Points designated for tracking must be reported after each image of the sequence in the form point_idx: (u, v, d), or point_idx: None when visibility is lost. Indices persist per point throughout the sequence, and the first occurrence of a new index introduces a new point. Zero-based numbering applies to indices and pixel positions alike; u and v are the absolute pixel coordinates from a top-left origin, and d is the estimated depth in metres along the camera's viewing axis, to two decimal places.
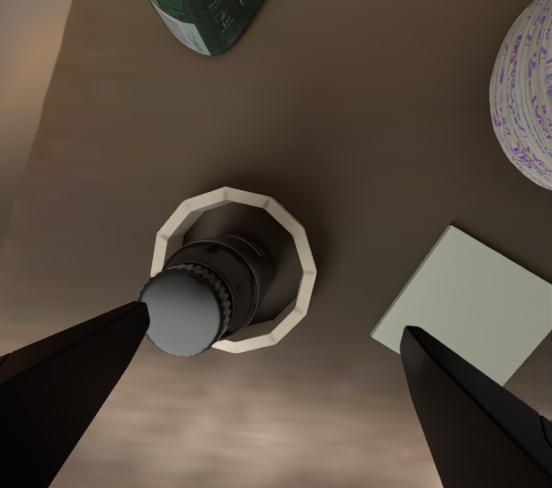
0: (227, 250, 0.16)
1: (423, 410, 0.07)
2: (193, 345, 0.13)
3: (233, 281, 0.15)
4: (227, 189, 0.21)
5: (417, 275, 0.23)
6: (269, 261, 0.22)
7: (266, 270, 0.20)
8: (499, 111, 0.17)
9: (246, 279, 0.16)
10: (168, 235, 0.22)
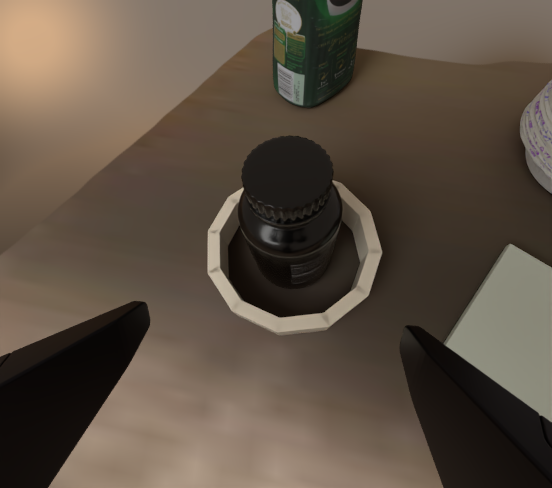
0: None
1: (423, 410, 0.07)
2: (294, 197, 0.12)
3: None
4: None
5: (484, 287, 0.21)
6: None
7: None
8: (535, 144, 0.22)
9: (336, 192, 0.16)
10: (238, 200, 0.23)
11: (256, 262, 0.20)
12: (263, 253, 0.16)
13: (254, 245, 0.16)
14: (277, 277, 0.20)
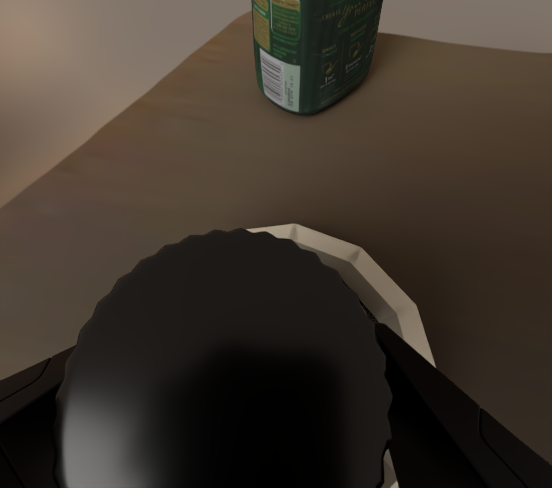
0: None
1: None
2: None
3: None
4: (297, 227, 0.14)
5: None
6: None
7: None
8: None
9: None
10: None
11: None
12: None
13: None
14: None
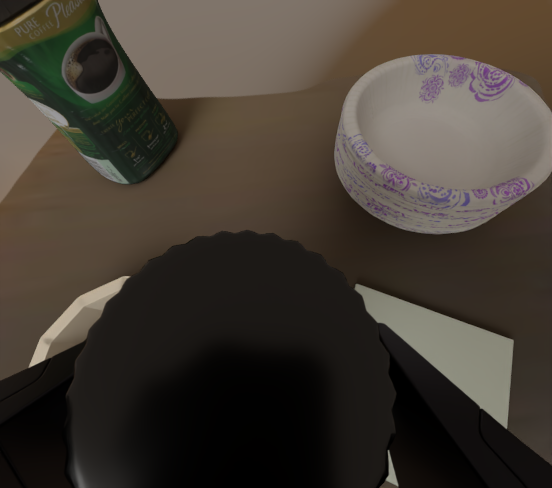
0: None
1: None
2: None
3: None
4: (125, 278, 0.21)
5: None
6: None
7: None
8: (345, 181, 0.22)
9: None
10: (53, 338, 0.20)
11: None
12: None
13: None
14: None
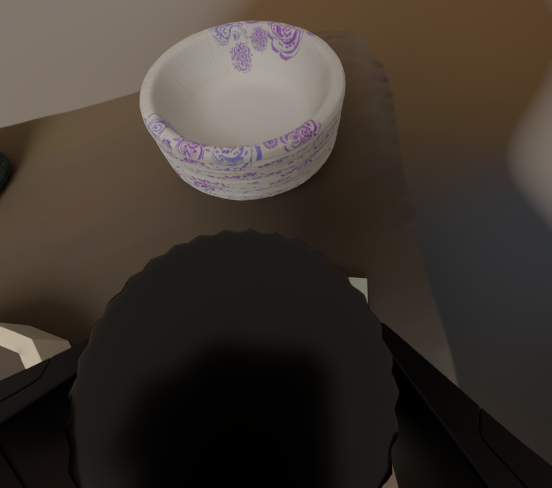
0: None
1: None
2: None
3: None
4: None
5: None
6: None
7: None
8: (173, 167, 0.21)
9: None
10: None
11: None
12: None
13: None
14: None
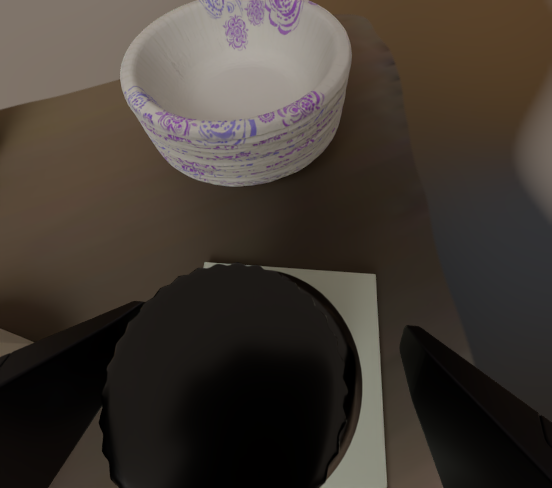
0: (315, 290, 0.09)
1: (423, 410, 0.07)
2: None
3: None
4: None
5: None
6: None
7: None
8: (159, 150, 0.18)
9: (350, 350, 0.08)
10: None
11: None
12: None
13: None
14: None
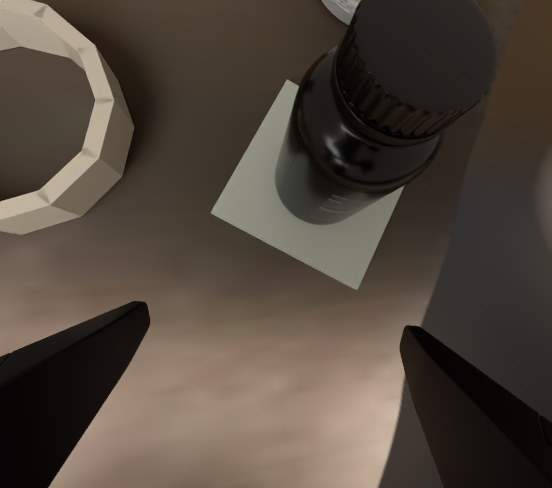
0: None
1: (423, 410, 0.07)
2: (425, 92, 0.07)
3: None
4: None
5: (258, 133, 0.19)
6: None
7: None
8: None
9: None
10: None
11: (280, 172, 0.16)
12: (309, 162, 0.11)
13: (305, 146, 0.11)
14: (299, 201, 0.15)
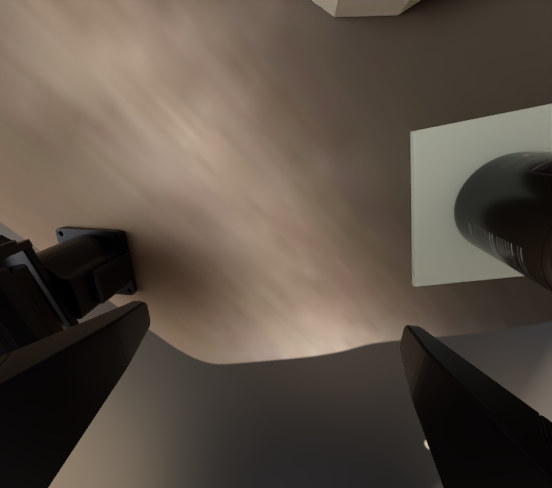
0: None
1: (423, 410, 0.07)
2: None
3: None
4: None
5: (532, 110, 0.16)
6: None
7: None
8: None
9: None
10: None
11: (506, 175, 0.15)
12: None
13: None
14: (482, 210, 0.15)
